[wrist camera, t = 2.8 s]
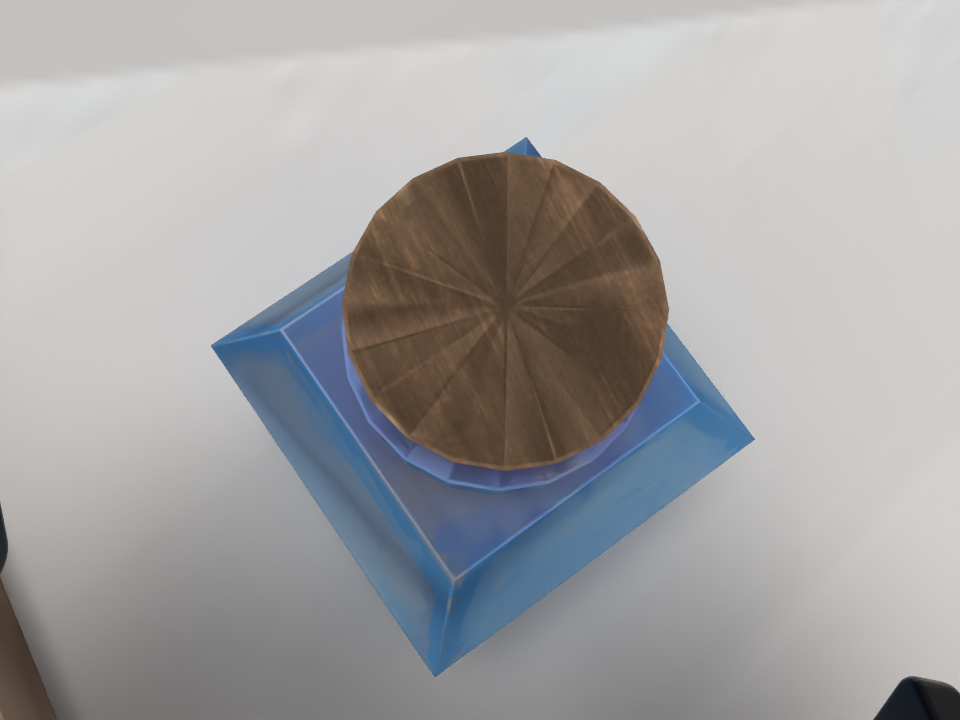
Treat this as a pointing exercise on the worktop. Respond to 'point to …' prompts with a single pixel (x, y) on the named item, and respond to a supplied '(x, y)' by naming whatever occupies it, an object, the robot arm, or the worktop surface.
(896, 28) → the worktop surface
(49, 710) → the walnut block
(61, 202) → the worktop surface
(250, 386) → the perfume bottle
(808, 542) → the worktop surface
